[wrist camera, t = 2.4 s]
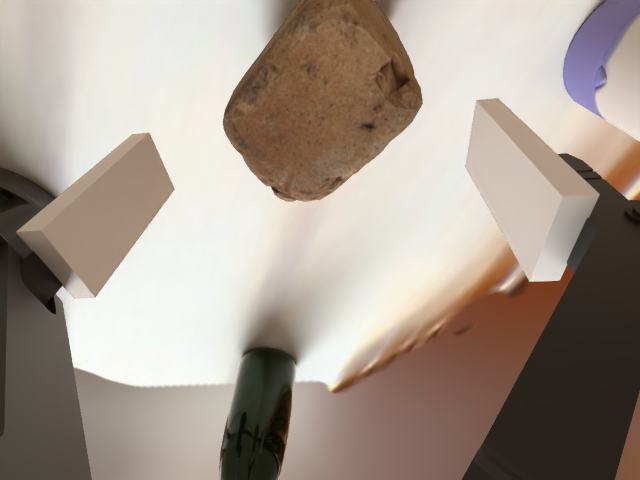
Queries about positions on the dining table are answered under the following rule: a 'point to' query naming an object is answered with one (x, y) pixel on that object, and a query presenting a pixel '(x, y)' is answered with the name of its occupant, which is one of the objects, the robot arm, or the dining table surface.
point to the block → (322, 98)
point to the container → (608, 65)
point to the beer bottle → (258, 417)
